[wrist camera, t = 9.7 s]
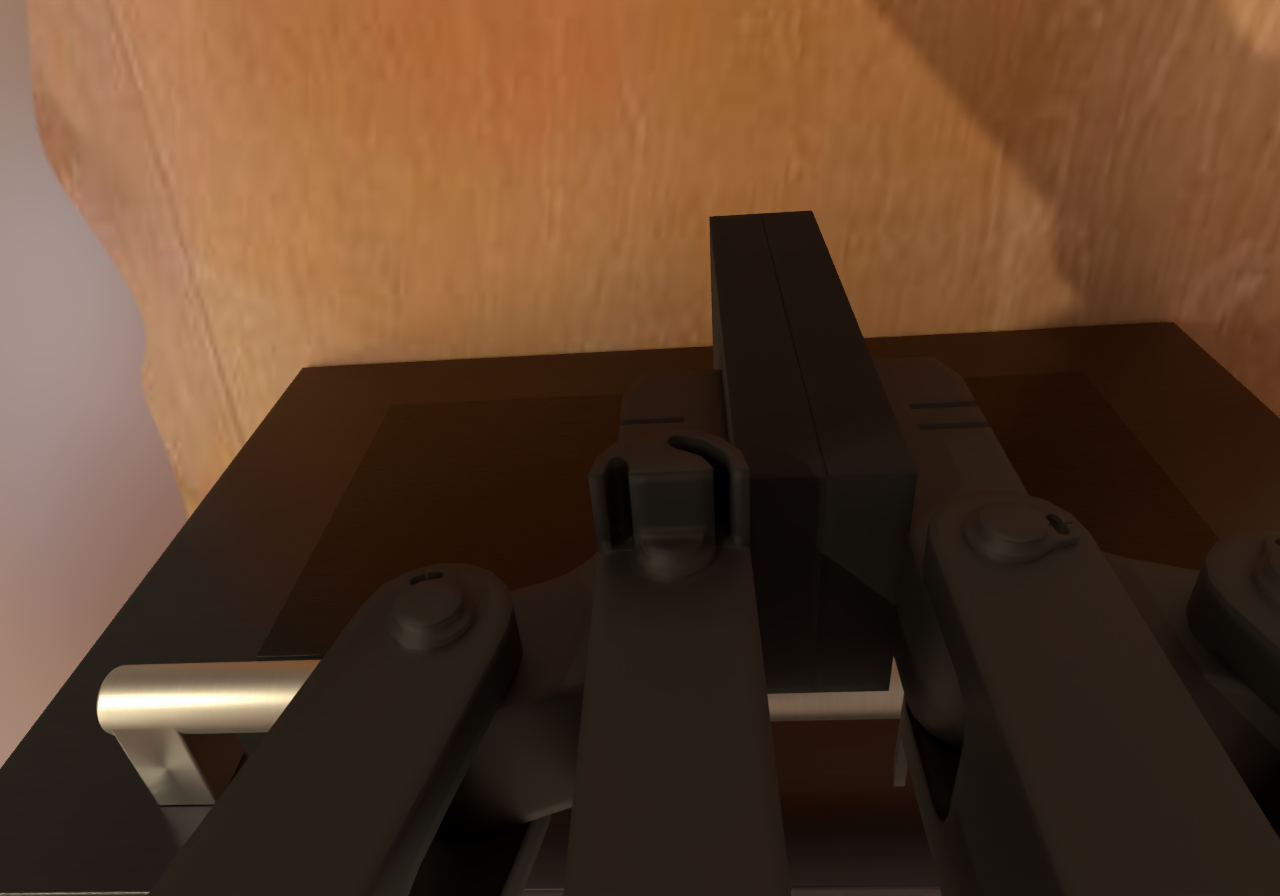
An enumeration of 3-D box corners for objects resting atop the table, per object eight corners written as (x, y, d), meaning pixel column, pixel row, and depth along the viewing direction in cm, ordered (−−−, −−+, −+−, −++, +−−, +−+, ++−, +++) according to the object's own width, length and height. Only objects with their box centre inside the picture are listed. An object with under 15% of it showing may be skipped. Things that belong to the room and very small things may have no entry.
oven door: (278, 293, 39) (-198, 794, 18) (1197, 239, 37) (1935, 758, 15) (311, 396, 42) (-62, 932, 21) (1164, 353, 40) (1743, 923, 18)
